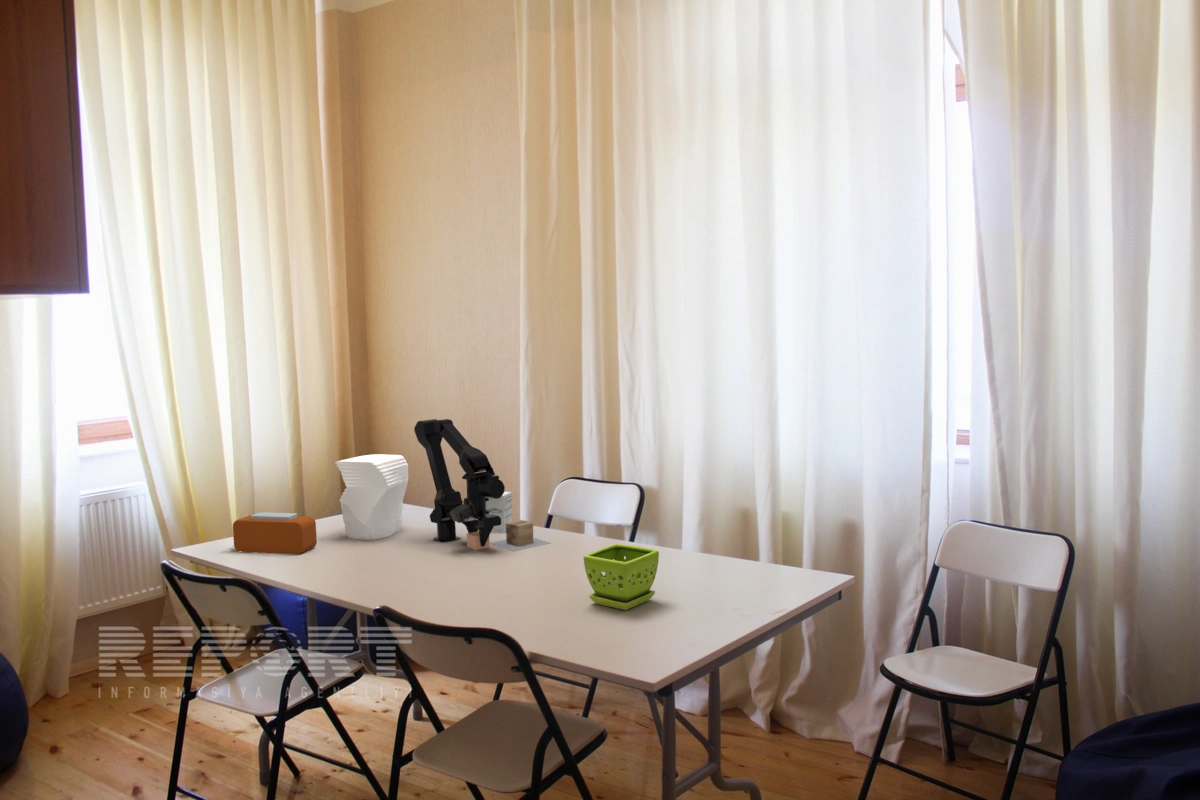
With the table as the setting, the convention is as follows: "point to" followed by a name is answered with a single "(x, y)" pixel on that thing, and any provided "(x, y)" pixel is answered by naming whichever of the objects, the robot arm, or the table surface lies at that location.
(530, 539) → the block
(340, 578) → the table surface
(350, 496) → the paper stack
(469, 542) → the terracotta block
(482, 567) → the table surface
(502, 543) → the felt mat
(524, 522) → the tower top
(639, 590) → the flower pot
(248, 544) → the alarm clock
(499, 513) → the supplement box
